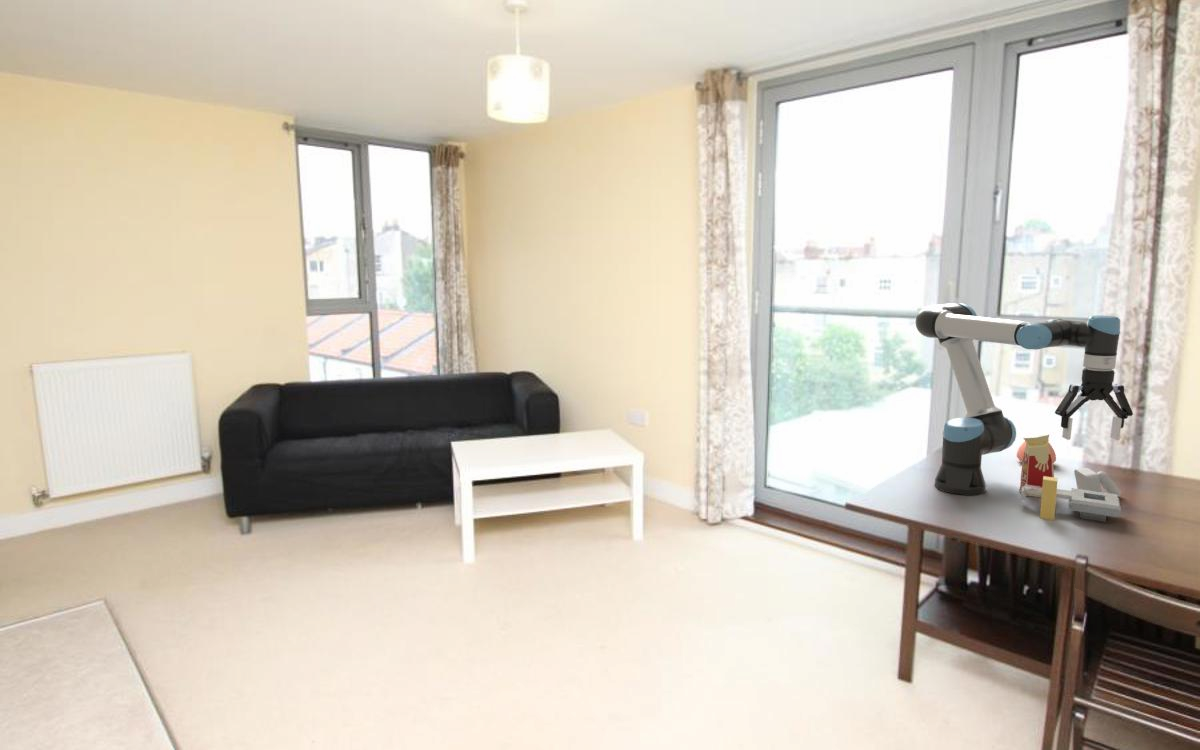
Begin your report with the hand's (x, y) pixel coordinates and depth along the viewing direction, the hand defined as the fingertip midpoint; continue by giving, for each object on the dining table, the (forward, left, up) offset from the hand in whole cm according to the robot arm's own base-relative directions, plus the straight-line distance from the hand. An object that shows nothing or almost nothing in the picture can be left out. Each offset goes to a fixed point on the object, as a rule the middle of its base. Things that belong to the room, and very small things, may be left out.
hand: (1090, 438), depth 194 cm
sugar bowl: (-14, +47, -23) cm, 54 cm away
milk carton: (-13, +11, -23) cm, 29 cm away
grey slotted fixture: (-4, -4, -23) cm, 23 cm away
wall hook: (+4, +17, -23) cm, 29 cm away
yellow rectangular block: (-9, -11, -23) cm, 27 cm away
